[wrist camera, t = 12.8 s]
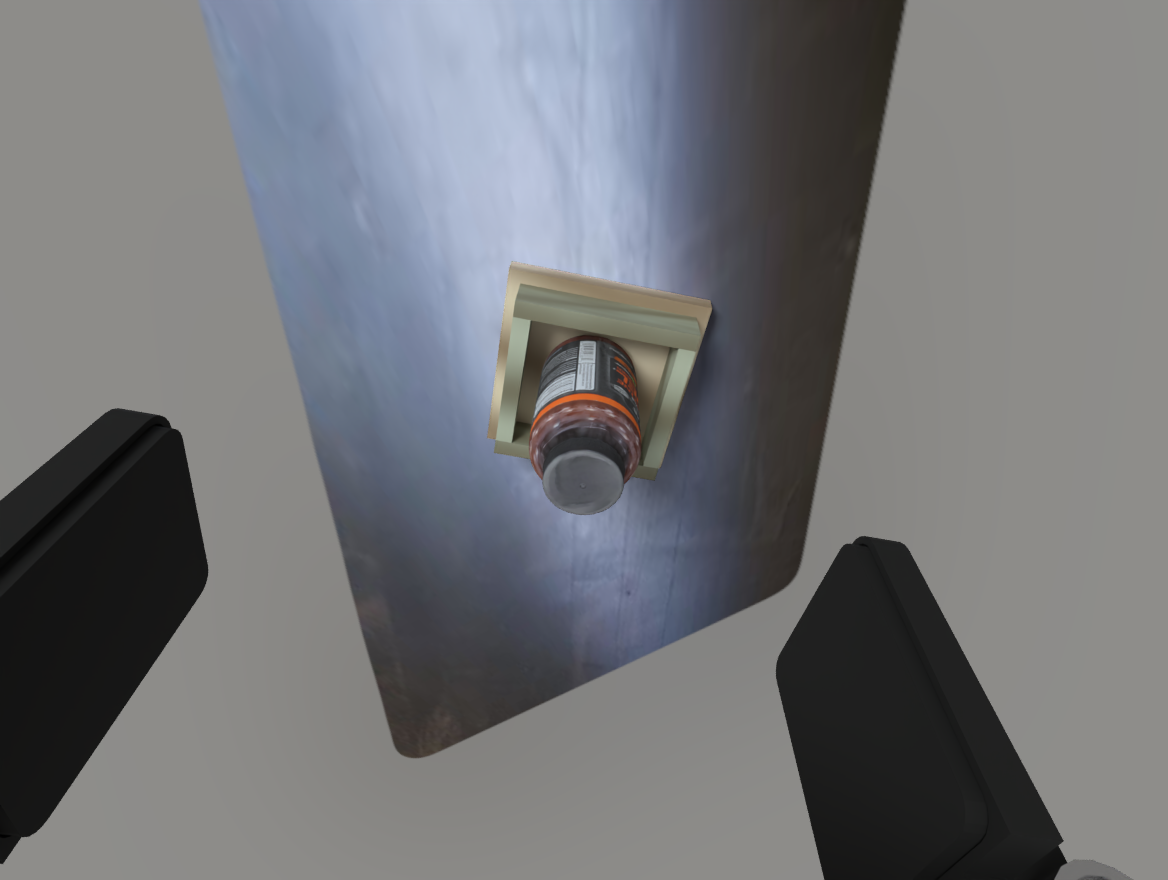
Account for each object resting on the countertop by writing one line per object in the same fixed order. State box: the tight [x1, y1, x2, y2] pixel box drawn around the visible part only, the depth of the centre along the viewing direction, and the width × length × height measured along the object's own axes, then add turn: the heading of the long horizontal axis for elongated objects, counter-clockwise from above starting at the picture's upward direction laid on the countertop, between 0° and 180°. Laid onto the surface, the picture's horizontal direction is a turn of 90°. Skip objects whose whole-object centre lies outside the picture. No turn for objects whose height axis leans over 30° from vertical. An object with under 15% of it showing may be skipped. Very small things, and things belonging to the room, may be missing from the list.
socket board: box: [487, 261, 712, 480], centre depth 40 cm, size 12×12×4 cm
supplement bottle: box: [529, 335, 641, 515], centre depth 36 cm, size 6×6×11 cm
